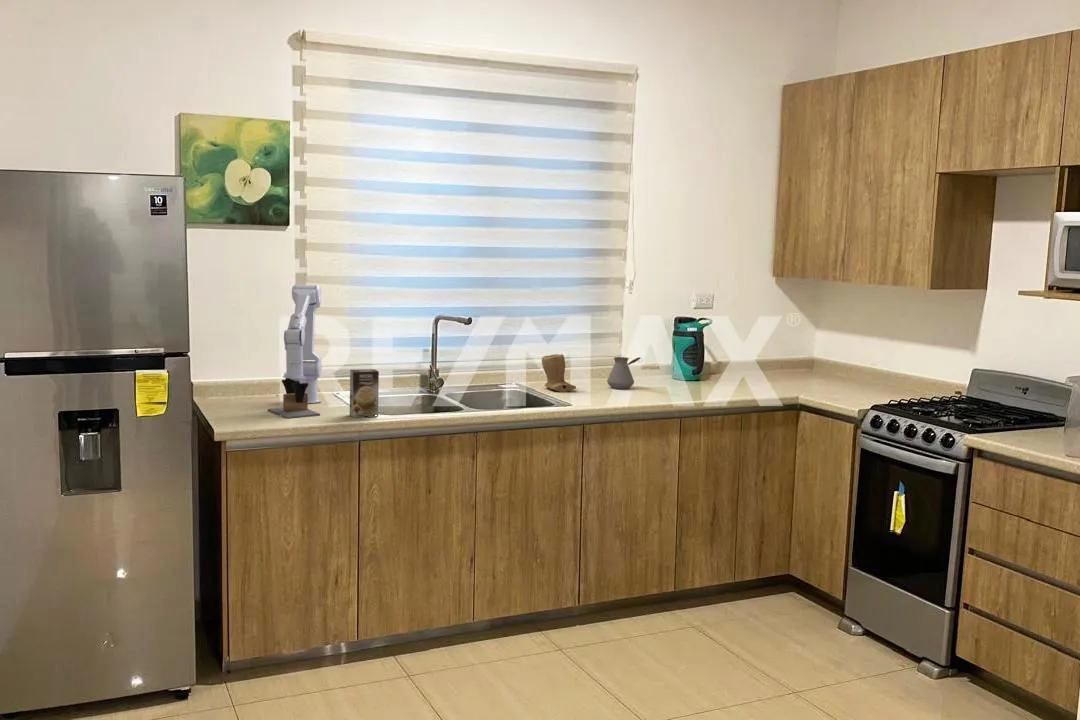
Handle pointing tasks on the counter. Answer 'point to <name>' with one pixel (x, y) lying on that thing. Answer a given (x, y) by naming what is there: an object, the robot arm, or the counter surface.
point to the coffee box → (364, 392)
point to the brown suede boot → (556, 373)
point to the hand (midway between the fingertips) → (295, 400)
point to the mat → (294, 413)
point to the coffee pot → (621, 374)
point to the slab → (294, 403)
